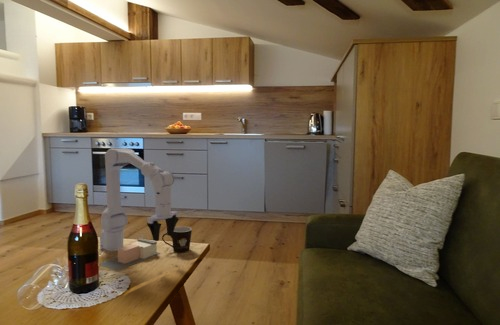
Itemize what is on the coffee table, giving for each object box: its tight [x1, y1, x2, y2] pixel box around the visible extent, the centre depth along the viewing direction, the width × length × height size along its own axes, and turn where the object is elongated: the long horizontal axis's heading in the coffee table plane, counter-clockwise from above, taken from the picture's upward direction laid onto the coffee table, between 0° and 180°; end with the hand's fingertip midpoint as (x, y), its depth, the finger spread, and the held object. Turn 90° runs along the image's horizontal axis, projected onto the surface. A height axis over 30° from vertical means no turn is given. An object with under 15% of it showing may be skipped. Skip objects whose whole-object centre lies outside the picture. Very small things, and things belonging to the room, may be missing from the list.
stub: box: [117, 243, 139, 263], centre depth 137 cm, size 4×7×5 cm, turn 150°
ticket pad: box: [128, 237, 158, 260], centre depth 143 cm, size 9×7×5 cm
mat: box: [98, 251, 161, 272], centre depth 138 cm, size 11×22×1 cm, turn 150°
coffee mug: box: [161, 226, 193, 254], centre depth 149 cm, size 12×9×10 cm
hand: (163, 238), depth 136 cm, fingers open, 7 cm apart
